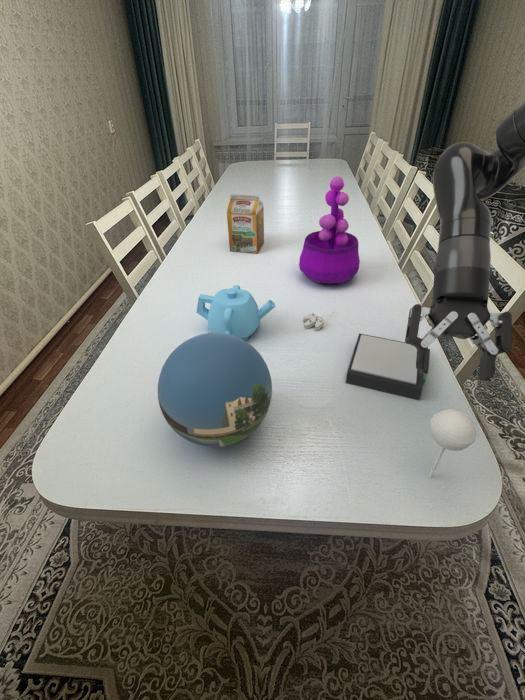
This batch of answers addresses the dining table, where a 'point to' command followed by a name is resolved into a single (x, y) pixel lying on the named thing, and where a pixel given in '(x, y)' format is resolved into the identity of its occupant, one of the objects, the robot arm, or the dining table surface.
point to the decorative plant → (331, 243)
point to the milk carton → (245, 223)
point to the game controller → (313, 321)
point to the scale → (386, 367)
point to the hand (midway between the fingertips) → (453, 377)
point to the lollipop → (451, 432)
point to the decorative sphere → (214, 389)
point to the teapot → (233, 312)
